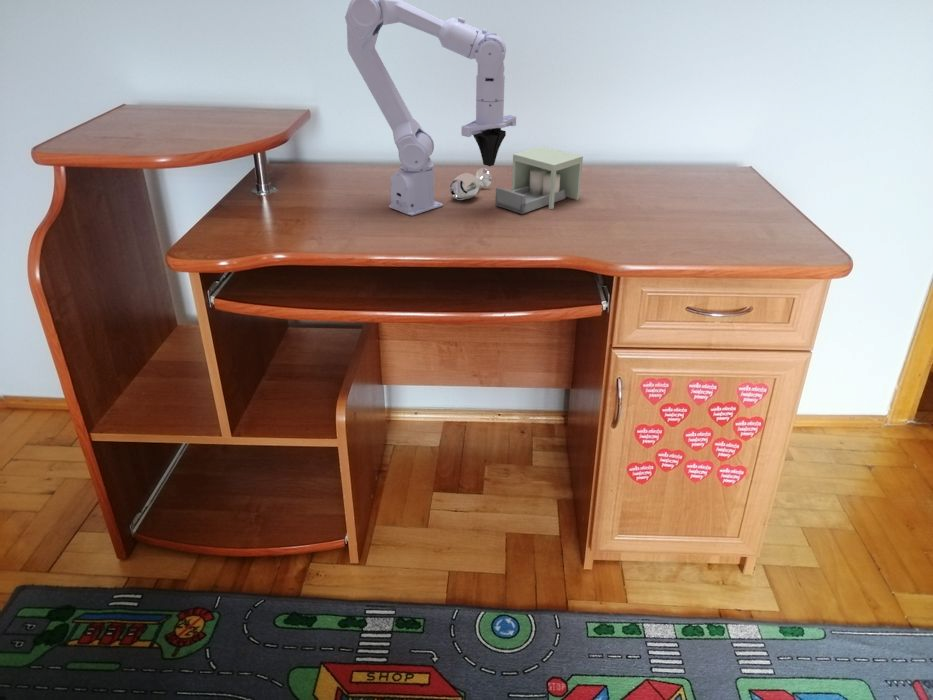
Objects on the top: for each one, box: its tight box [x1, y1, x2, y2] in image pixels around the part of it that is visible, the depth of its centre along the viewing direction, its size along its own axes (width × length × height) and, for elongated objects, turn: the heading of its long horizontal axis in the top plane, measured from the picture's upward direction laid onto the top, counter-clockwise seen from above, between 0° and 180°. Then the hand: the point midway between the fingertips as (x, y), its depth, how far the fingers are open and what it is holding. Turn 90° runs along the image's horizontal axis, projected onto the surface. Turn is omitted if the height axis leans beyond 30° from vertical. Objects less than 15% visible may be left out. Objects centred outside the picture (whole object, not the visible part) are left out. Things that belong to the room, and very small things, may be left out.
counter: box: [511, 145, 584, 210], centre depth 160 cm, size 10×12×10 cm
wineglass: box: [449, 167, 493, 201], centre depth 163 cm, size 6×6×12 cm
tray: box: [494, 169, 567, 215], centre depth 158 cm, size 15×8×6 cm, turn 134°
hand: (488, 164), depth 151 cm, fingers closed
